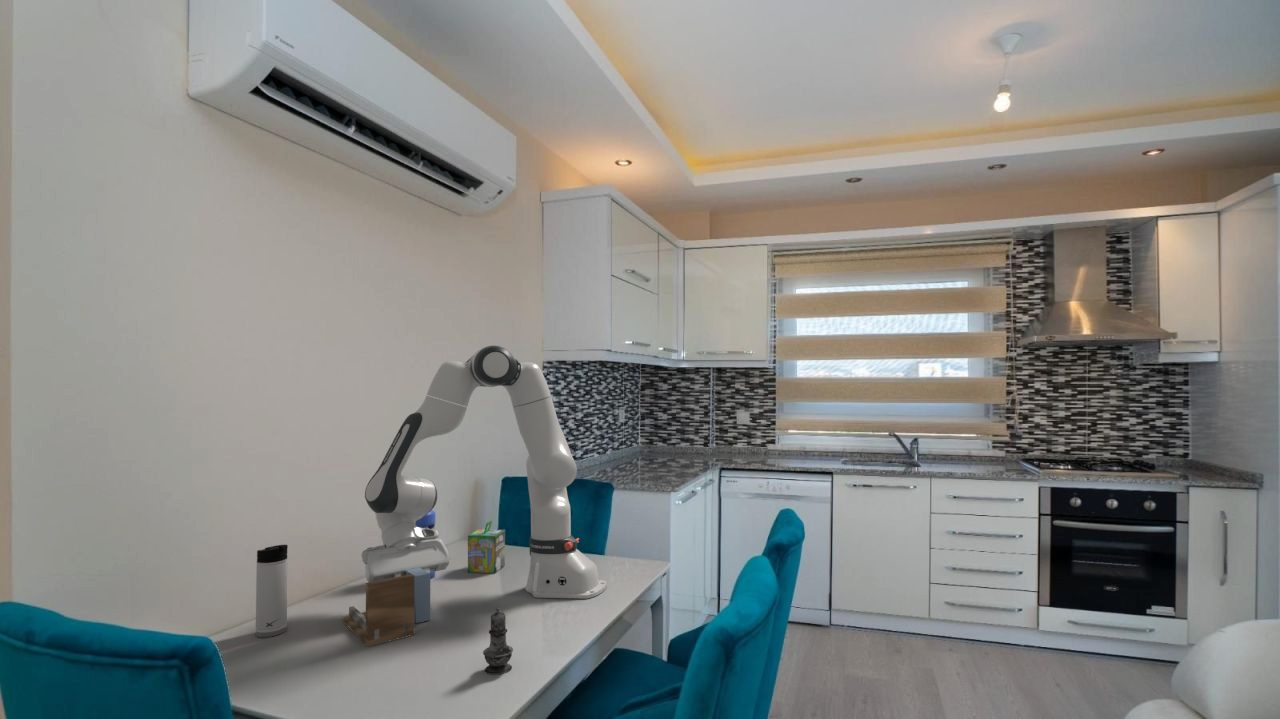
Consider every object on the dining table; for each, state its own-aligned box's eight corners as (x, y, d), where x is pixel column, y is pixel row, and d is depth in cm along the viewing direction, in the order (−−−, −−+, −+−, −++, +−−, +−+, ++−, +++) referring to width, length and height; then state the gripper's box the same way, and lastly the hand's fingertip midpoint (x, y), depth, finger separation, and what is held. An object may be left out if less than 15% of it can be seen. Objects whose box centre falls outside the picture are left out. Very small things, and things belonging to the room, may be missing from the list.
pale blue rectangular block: (405, 615, 158) (405, 570, 158) (419, 612, 160) (419, 567, 161) (415, 623, 152) (415, 576, 153) (430, 619, 155) (430, 573, 155)
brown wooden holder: (343, 621, 155) (343, 566, 155) (385, 612, 161) (385, 559, 162) (368, 646, 139) (368, 584, 140) (414, 634, 146) (414, 575, 146)
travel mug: (274, 638, 145) (275, 548, 146) (248, 637, 146) (250, 548, 147) (294, 628, 151) (295, 542, 152) (269, 627, 152) (271, 541, 153)
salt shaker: (485, 663, 130) (485, 603, 130) (515, 662, 130) (514, 601, 131) (480, 676, 124) (480, 613, 124) (511, 674, 124) (511, 611, 125)
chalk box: (478, 565, 204) (477, 518, 205) (505, 565, 203) (505, 518, 204) (466, 573, 195) (466, 524, 196) (495, 573, 194) (495, 524, 195)
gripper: (362, 541, 158) (374, 591, 150) (443, 529, 170) (458, 574, 162) (357, 556, 161) (369, 606, 153) (436, 543, 174) (451, 588, 166)
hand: (415, 589), depth 158 cm, fingers closed on pale blue rectangular block, 3 cm apart
